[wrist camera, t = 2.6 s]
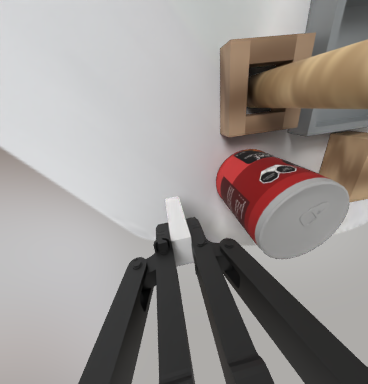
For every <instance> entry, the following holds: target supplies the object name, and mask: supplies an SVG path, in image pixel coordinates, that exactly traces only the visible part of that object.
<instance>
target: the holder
mask: <svg viewBox="0 0 368 384" xmlns="http://www.w3.org/2000/svg"><path fill="white" fill-rule="evenodd" d="M315 36H316V33H304V34H292V35H281V36H269V37H257V38H245V39H233V40H230V41H229V42H227V43H226V44H225V45H224V46H223V47H222V48H220V134H222V135H224V136H227V137H235V136H242V135H249V134H256V133H262V132H269V131H276V130H283V129H290V128H297V126H298V121H299V116H300V111H301V108H271V111H267V112H260V113H252V114H246V107H247V91H248V75H249V68H255V67H265V66H275V65H276V68H277V67H280V66H284V65H287V64H290V63H293V62H297V61H300V60H303V59H306V58H309V57H311V56H312V51H313V46H314V41H315Z"/></svg>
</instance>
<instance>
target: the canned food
mask: <svg viewBox="0 0 368 384" xmlns="http://www.w3.org/2000/svg"><path fill="white" fill-rule="evenodd" d="M216 186H217V191H218V193H219V195H220V197H221V198H222V199H223V201H224V202H225V203H226V205H227V206H228V207H229V209H230V210H231V211H232V213H233V214H234V215H235V217H236V218H237V219H238V221H239V222H240V223H241V225H242V226H243V227H244V229H245V230H246V231H247V233H248V234H249V235H250V237H251V238H252V239H253V240H254V242H255V243H256V244H257V245H258V247H259V248H260V249H261V250H262V251H263V252H264V253H265V254H266V255H268V256H269V257H272V258H275V259H288V258H293V257H297V256H300V255H303V254H305V253H307V252H309V251H311V250H313V249H315V248H316V247H317V246H319V245H321V244H322V243H323V242H325V241H326V240H327V239H328V238H329V237H330V236H331V235H332V234H333V233H334V232H335V231H336V230H337V229H338V228H339V226H340V225H341V223H342V222H343V220H344V218H345V216H346V214H347V212H348V208H349V194H348V191H347V190H346V189H345V187H344V186H342V185H340V184H339V183H337V182H335V181H333V180H332V179H329V178H327V177H324V176H322V175H320V174H318V173H315V172H313V171H310V170H308V169H305V168H303V167H300V166H298V165H295V164H293V163H290V162H288V161H285V160H283V159H280V158H278V157H275V156H273V155H270V154H268V153H265V152H263V151H260V150H256V149H248V150H242V151H239V152H236V153H234V154H233V155H231V156H230V157H229V158H227V159H226V160H225V161H224V163H223V164H222V165H221V167H220V168H219V171H218V173H217V177H216Z"/></svg>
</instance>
